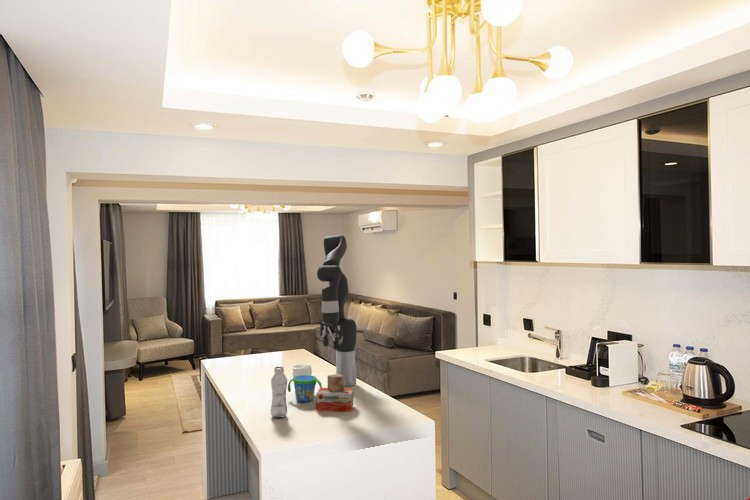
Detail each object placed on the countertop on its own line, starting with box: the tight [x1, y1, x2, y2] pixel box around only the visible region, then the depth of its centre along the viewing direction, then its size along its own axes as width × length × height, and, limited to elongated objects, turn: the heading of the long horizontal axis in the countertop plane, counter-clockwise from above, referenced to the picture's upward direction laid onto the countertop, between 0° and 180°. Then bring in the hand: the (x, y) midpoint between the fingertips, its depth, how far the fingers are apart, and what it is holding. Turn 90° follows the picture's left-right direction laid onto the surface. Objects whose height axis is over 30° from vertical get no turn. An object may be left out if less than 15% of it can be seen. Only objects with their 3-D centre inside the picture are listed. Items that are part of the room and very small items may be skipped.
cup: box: [292, 364, 313, 388], centre depth 243 cm, size 9×9×12 cm
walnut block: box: [327, 373, 345, 392], centre depth 219 cm, size 5×5×6 cm
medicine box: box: [315, 387, 355, 413], centre depth 218 cm, size 15×8×8 cm, turn 87°
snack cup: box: [287, 375, 323, 403], centre depth 230 cm, size 16×10×10 cm
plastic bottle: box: [270, 366, 288, 419], centre depth 207 cm, size 6×7×20 cm
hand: (330, 347), depth 225 cm, fingers open, 8 cm apart
